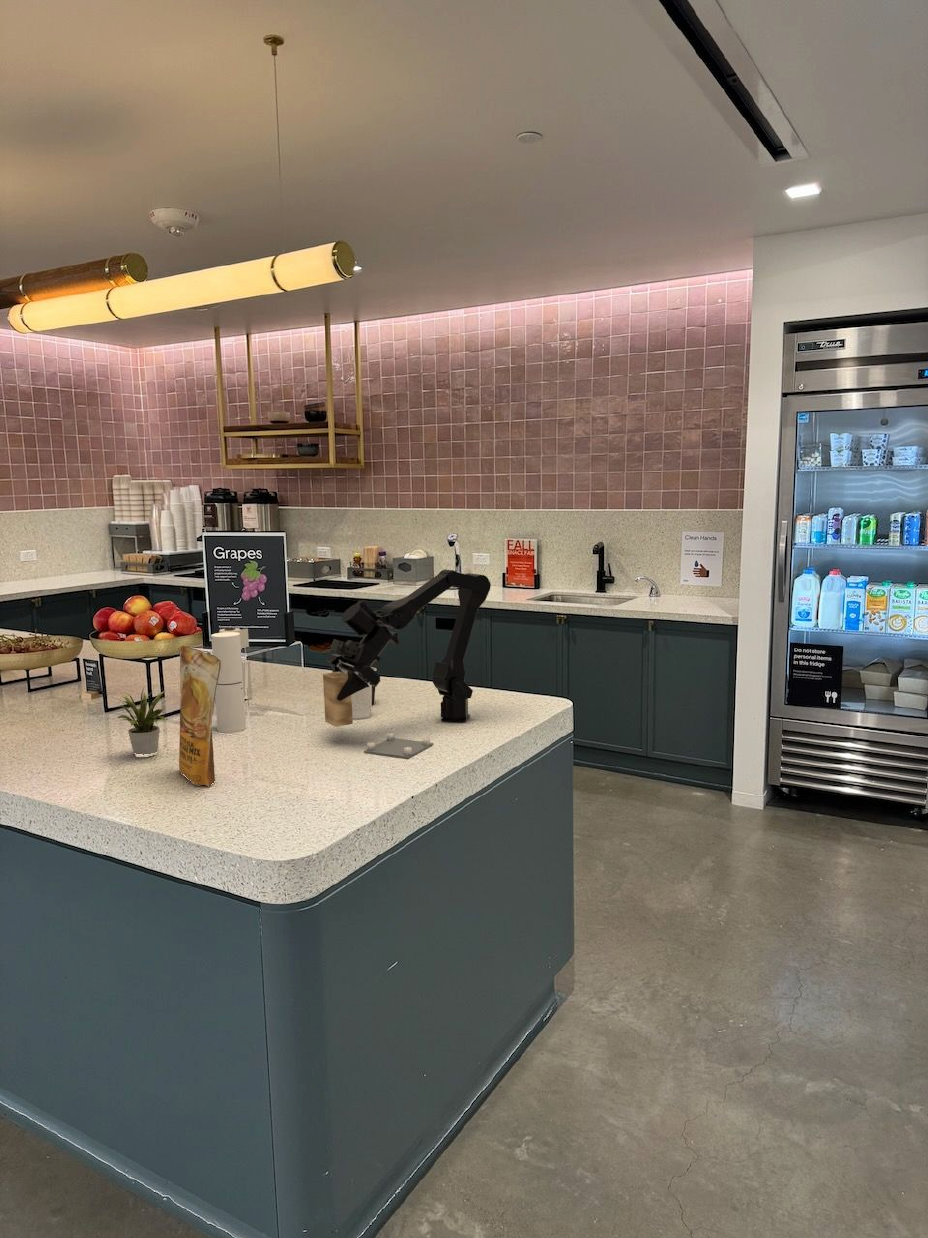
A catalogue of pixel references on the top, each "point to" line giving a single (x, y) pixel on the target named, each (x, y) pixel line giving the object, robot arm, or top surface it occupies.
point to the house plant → (143, 725)
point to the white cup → (362, 703)
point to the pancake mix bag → (197, 714)
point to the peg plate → (398, 747)
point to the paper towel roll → (244, 644)
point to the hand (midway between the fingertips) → (332, 697)
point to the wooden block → (336, 700)
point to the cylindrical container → (229, 682)
